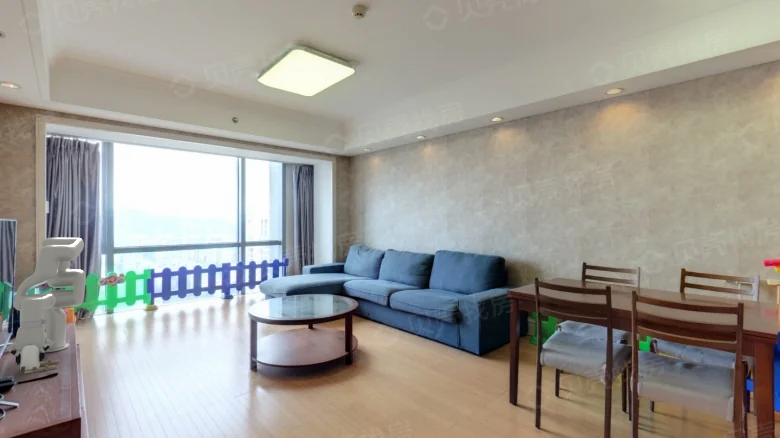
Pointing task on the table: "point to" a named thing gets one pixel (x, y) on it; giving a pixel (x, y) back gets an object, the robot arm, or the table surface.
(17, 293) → the robot arm
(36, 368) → the comb channel
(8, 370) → the table surface
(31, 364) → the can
